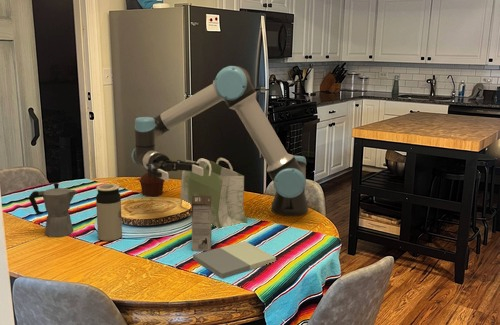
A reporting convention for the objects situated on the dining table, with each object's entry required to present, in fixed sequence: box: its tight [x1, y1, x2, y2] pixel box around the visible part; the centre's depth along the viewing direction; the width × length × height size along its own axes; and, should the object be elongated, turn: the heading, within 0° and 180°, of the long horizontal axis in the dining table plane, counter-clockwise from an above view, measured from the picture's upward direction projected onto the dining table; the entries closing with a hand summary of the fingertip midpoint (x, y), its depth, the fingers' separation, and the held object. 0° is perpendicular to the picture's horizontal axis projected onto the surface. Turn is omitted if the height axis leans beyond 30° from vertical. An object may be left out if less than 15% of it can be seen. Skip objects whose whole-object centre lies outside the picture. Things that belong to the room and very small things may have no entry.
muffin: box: [138, 172, 165, 198], centre depth 216 cm, size 12×11×10 cm
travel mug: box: [95, 183, 123, 242], centre depth 163 cm, size 8×8×18 cm
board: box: [192, 240, 277, 279], centre depth 148 cm, size 20×16×2 cm
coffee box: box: [191, 196, 212, 252], centre depth 158 cm, size 9×6×16 cm
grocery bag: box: [180, 157, 248, 229], centre depth 189 cm, size 32×14×23 cm, turn 35°
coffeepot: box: [28, 182, 78, 238], centre depth 166 cm, size 15×9×18 cm, turn 110°
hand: (185, 174), depth 163 cm, fingers open, 13 cm apart
